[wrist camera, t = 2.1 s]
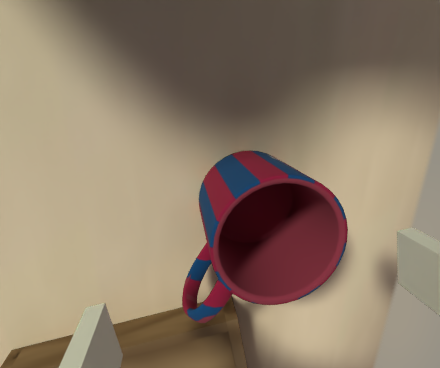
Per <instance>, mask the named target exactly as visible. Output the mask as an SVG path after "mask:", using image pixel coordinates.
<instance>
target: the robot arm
mask: <svg viewBox="0 0 440 368" xmlns="http://www.w3.org/2000/svg"><path fill="white" fill-rule="evenodd" d="M397 256H398V283H399V284H400V285H401V286H402V287H404V288H405V289H406V290H407V291H409V292H410V293H411V294H412V295H414V296H415V297H416V298H418V299H419V300H420V301H421V302H423V303H424V304H425V305H426V306H428V307H429V308H430V309H432V310H433V311H434V312H436V313H437V314H438V315H439V316H440V241H439V240H437V239H435V238H433V237H431V236H429V235H427V234H424V233H423V232H421V231H419V230H417V229H415V228H413V227H412V228H408V229H404V230H400V231H397ZM122 358H123V354H122V351H121V348H120V345H119V342H118V339H117V336H116V333H115V330H114V327H113V325H112V322H111V319H110V316H109V313H108V310H107V307H106V304H105V303H102V304H98V305H94V306H89V307H86V309H85V311H84V313H83V315H82V317H81V320H80V322H79V324H78V326H77V328H76V331H75V333H74V335H73V337H72V339H71V342H70V344H69V346H68V348H67V350H66V352H65V355H64V357H63V359H62V361H61V363H60V366H59V368H120V367H121V362H122Z"/></svg>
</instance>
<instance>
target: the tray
mask: <svg viewBox="0 0 440 368" xmlns="http://www.w3.org/2000/svg"><path fill="white" fill-rule="evenodd" d="M202 303H203V302H202ZM202 303H198V304H197V307H199V306H200V305H201V304H202ZM113 327H114V330H115V333H116V336H117V339H118V342H119V345H120V348H121V351H122V354H123V358H122V362H121V367H120V368H247V364H246V359H245V354H244V348H243V343H242V338H241V333H240V328H239V323H238V318H237V315H236V311H235V308H234V304H233V301H232V297H230V299H229V300H228V302H227V303H226V305H225V306H224V307H223V308H222V310H221V311H220V312H219V313H218V314H217V315H216V316H215V317H214V318H212V319H211V320H210V321H208V322H206V323H199V322H196V321H194V320H192V319H191V318H189V317H188V316H187V315H186V314H185V312H184V310H183V307H182V308H178V309H174V310H170V311H166V312H162V313H158V314H154V315H150V316H146V317H142V318H138V319H134V320H130V321H126V322H122V323H118V324H114V325H113ZM72 337H73V335H70V336H66V337H63V338H59V339H55V340H51V341H47V342H43V343H39V344H35V345H31V346H27V347H23V348H19V349H15V350H12V351H11V352H10V354H9V355H8V357H7V358H6V360H5V361H4V363H3V364H2V366H1V367H0V368H59V366H60V363H61V361H62V359H63V357H64V355H65V352H66V350H67V348H68V346H69V344H70V342H71V339H72Z"/></svg>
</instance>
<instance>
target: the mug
mask: <svg viewBox="0 0 440 368" xmlns="http://www.w3.org/2000/svg"><path fill="white" fill-rule="evenodd" d="M199 207H200V212H201V217H202V222H203V226H204V231H205V235H206V240H207V243H206V245H205V246H204V248H203V249H202V251H201V252H200V254H199V255H198V257H197V258H196V260H195V262H194V263H193V265H192V267H191V269H190V271H189V273H188V276H187V278H186V281H185V285H184V289H183V297H182V305H183V310H184V312H185V314H186V315H187V316H188V317H189V318H191V319H192V320H194V321H196V322H199V323H206V322H208V321H210V320H211V319H212V318H214V317H215V316H216V315H217V314H218V313H219V312H220V311H221V310H222V308H223V307H224V306H225V305H226V303H227V302H228V300H229V299H230V297H231V296H232V294H234V295H236V296H238V297H239V298H241V299H243V300H246V301H249V302H252V303H256V304H263V305H277V304H283V303H288V302H291V301H295V300H298V299H300V298H302V297H304V296H306V295H308V294H310V293H311V292H313V291H314V290H316V289H317V288H318V287H320V286H321V285H322V284H323V283H324V282H325V281H326V280H327V279H328V278H329V277H330V276H331V274H332V273H333V272H334V271H335V269H336V267H337V266H338V264H339V263H340V260H341V258H342V256H343V253H344V251H345V246H346V242H347V232H348V229H347V220H346V216H345V213H344V210H343V208H342V206H341V204H340V202H339V200H338V199H337V198H336V196H335V195H334V194H333V193H332V192H331V191H330V190H329V189H328V188H326V187H325V186H324V185H322V184H321V183H319V182H317V181H316V180H314V179H312V178H310V177H308V176H307V175H305V174H303V173H301V172H300V171H298V170H296V169H294V168H292V167H291V166H289V165H287V164H285V163H284V162H282V161H280V160H278V159H276V158H275V157H273V156H271V155H269V154H266V153H263V152H259V151H241V152H237V153H233V154H231V155H229V156H227V157H225V158H223V159H222V160H220V161H219V162H217V163H216V164H215V165H214V166H213V167H212V168H211V169H210V171H209V172H208V174H207V175H206V177H205V179H204V181H203V183H202V185H201V189H200V194H199ZM211 263H212V265H213V269H214V271H215V273H216V275H217V277H218V280H217V282H216V284H215V286H214V288H213V290H212V291H211V293H210V295H209V296H208V297H207V299H206V300H205V301H204V302H203V303H202V304H201V305H200V306H199V307H197V295H198V290H199V287H200V284H201V281H202V279H203V277H204V275H205V273H206V271H207V269H208V267H209V266H210V264H211Z"/></svg>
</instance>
